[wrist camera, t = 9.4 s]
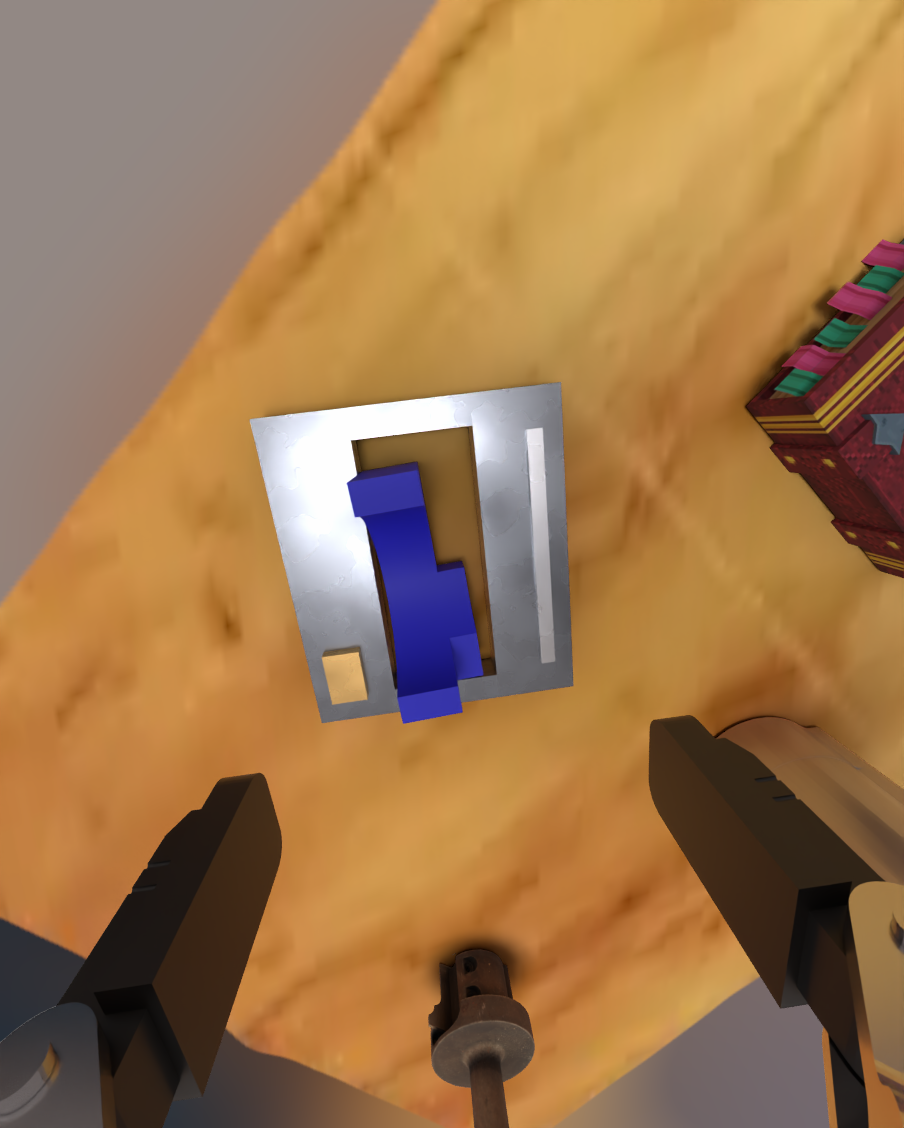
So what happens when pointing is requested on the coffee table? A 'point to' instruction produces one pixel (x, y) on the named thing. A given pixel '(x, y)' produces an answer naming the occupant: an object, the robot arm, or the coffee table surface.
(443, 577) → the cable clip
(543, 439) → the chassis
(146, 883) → the robot arm
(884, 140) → the coffee table surface
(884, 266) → the decorative book
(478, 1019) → the industrial component
